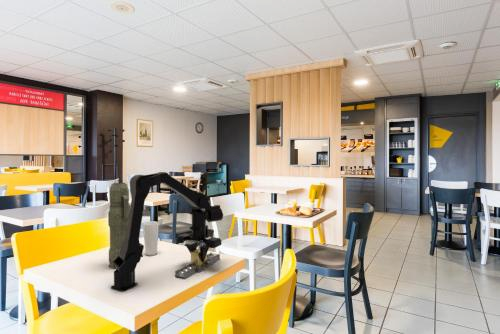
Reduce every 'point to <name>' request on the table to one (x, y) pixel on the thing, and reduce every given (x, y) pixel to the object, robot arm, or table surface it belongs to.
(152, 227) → the drinking glass
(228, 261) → the table surface
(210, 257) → the chain end
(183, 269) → the chain end
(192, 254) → the link
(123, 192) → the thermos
